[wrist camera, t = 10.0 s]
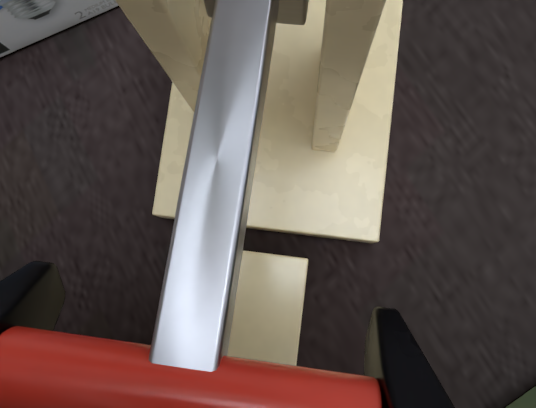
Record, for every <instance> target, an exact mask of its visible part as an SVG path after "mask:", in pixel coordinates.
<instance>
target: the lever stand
mask: <svg viewBox="0 0 536 408" xmlns="http://www.w3.org/2000/svg"><path fill="white" fill-rule="evenodd" d="M115 1H116V2H117V4H118V5H119V7H120V8H121V9H122V11H123V12H124V14H125V15H126V17H127V18H128V19H129V21H130V22H131V24H132V25H133V26H134V28H135V29H136V31H137V32H138V34H139V35H140V36H141V38H142V39H143V41H144V42H145V43H146V45H147V46H148V48H149V49H150V51H151V52H152V53H153V55H154V56H155V58H156V59H157V61H158V62H159V63H160V65H161V66H162V68H163V69H164V70H165V72H166V73H167V75H168V76H169V78H170V79H171V80H172V87H171V94H170V100H169V107H168V113H167V120H166V126H165V133H164V139H163V146H162V152H161V159H160V165H159V172H158V178H157V185H156V192H155V198H154V205H153V211H152V214H153V215H155V216H158V217H161V218H168V219H174V218H175V213H176V208H177V202H178V197H179V192H180V186H181V181H182V176H183V170H184V165H185V159H186V154H187V149H188V143H189V138H190V133H191V127H192V122H193V117H194V111H195V106H196V100H197V95H198V90H199V84H200V79H201V74H202V68H203V63H204V58H205V52H206V47H207V41H208V36H209V31H210V25H211V20H212V17H209V16H208V15H207V12H206V8H205V4H204V0H115ZM402 7H403V0H309V3H308V11H307V18H306V23H305V24H304V25H292V24H281V23H276V30H275V36H274V43H273V50H272V57H271V63H270V70H269V77H268V84H267V91H266V97H265V104H264V111H263V118H262V124H261V131H260V138H259V145H258V151H257V158H256V165H255V172H254V178H253V185H252V192H251V199H250V205H249V212H248V219H247V226H246V228H250V229H258V230H266V231H275V232H283V233H291V234H299V235H307V236H316V237H324V238H332V239H340V240H348V241H356V242H365V243H376V242H379V237H380V227H381V217H382V207H383V197H384V187H385V177H386V167H387V157H388V147H389V137H390V127H391V117H392V107H393V97H394V87H395V77H396V67H397V57H398V47H399V37H400V27H401V17H402Z"/></svg>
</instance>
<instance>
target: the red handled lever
mask: <svg viewBox="0 0 536 408" xmlns="http://www.w3.org/2000/svg"><path fill="white" fill-rule="evenodd" d="M308 3H309V0H204V4H205V8H206V12H207V15H208V16H209V17H212V20H211V25H210V31H209V36H208V41H207V47H206V52H205V58H204V63H203V68H202V74H201V79H200V84H199V90H198V95H197V100H196V106H195V111H194V117H193V122H192V127H191V133H190V138H189V143H188V149H187V154H186V159H185V165H184V170H183V176H182V181H181V186H180V192H179V197H178V202H177V208H176V213H175V218H174V224H173V229H172V235H171V240H170V245H169V251H168V256H167V261H166V267H165V272H164V278H163V283H162V288H161V294H160V299H159V304H158V310H157V315H156V320H155V326H154V331H153V337H152V342H151V345H149V344H142V343H135V342H128V341H121V340H114V339H107V338H100V337H93V336H86V335H80V334H73V333H66V332H59V331H52V330H45V329H38V328H31V327H24V326H14V327H11V328H8V329H7V330H5V331H4V332H2V333H1V334H0V408H382V397H381V389H380V385H379V382H378V380H377V379H376V378H374V377H372V376H365V375H358V374H351V373H344V372H337V371H330V370H323V369H316V368H309V367H302V366H295V365H288V364H281V363H274V362H267V361H261V360H254V359H247V358H240V357H233V356H227V354H228V347H229V340H230V334H231V327H232V320H233V313H234V307H235V300H236V293H237V286H238V280H239V273H240V266H241V259H242V253H243V246H244V239H245V232H246V226H247V219H248V212H249V205H250V199H251V192H252V185H253V178H254V172H255V165H256V158H257V151H258V145H259V138H260V131H261V124H262V118H263V111H264V104H265V97H266V91H267V84H268V77H269V70H270V63H271V57H272V50H273V43H274V36H275V30H276V23H281V24H292V25H304V24H305V23H306V18H307V11H308Z"/></svg>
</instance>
